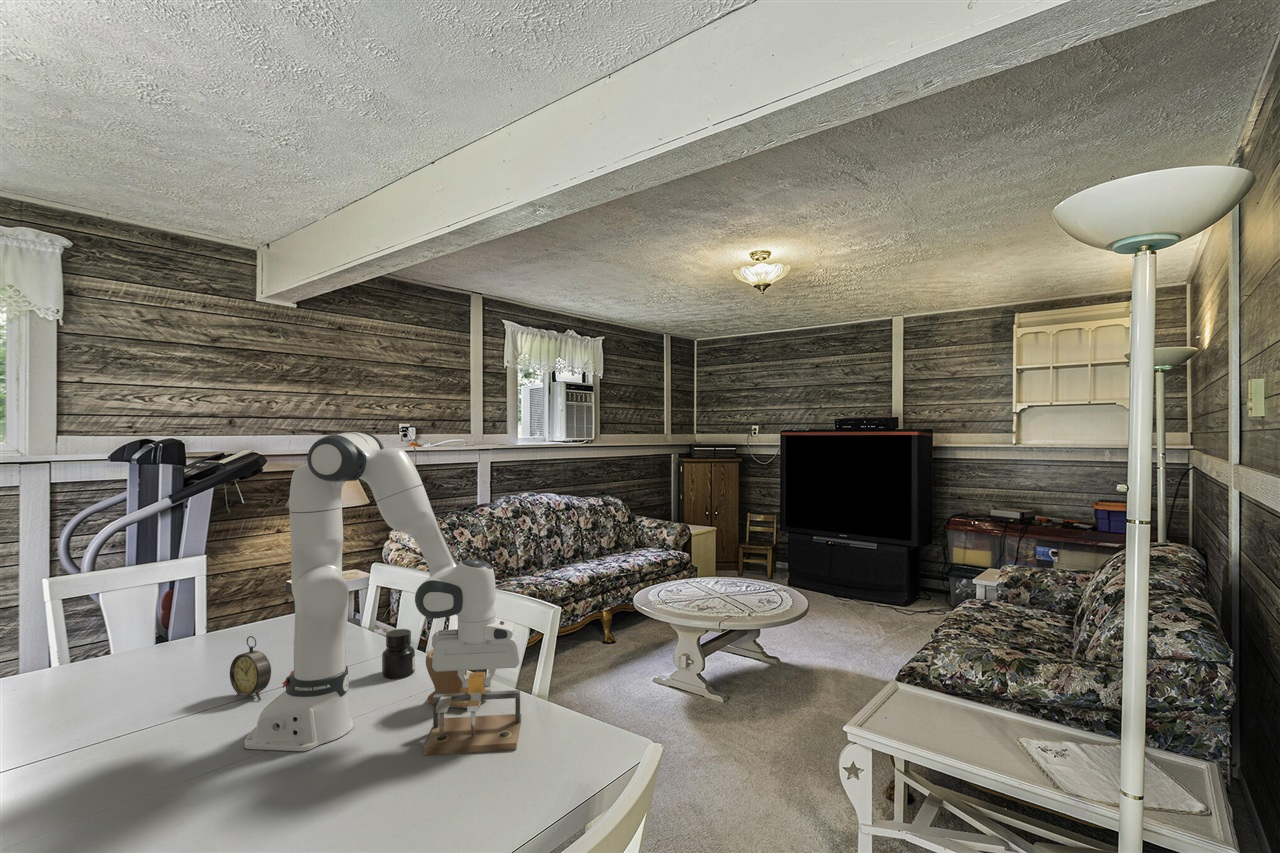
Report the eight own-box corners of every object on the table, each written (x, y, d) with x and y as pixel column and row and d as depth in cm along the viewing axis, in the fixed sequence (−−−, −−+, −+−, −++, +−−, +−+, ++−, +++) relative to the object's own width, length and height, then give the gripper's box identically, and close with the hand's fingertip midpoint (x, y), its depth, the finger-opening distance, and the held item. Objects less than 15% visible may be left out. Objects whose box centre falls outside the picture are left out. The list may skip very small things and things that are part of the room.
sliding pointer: (464, 736, 140) (464, 686, 140) (470, 719, 148) (470, 672, 148) (480, 735, 140) (480, 686, 140) (485, 718, 148) (485, 671, 148)
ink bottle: (422, 672, 181) (421, 631, 181) (396, 682, 174) (395, 640, 174) (401, 665, 186) (400, 625, 186) (374, 675, 179) (374, 634, 179)
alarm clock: (228, 697, 165) (227, 636, 165) (247, 689, 170) (247, 630, 170) (256, 704, 161) (256, 642, 161) (275, 695, 166) (275, 635, 166)
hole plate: (423, 755, 135) (423, 715, 135) (437, 724, 149) (437, 688, 149) (516, 749, 138) (516, 710, 138) (521, 719, 151) (521, 684, 151)
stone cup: (415, 708, 158) (415, 650, 158) (446, 690, 169) (446, 635, 169) (464, 719, 152) (463, 658, 152) (492, 699, 163) (492, 642, 163)
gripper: (428, 635, 142) (428, 694, 142) (518, 631, 144) (518, 690, 144) (434, 626, 148) (434, 683, 148) (520, 622, 151) (521, 679, 151)
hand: (477, 686), depth 146 cm, fingers closed on sliding pointer, 3 cm apart
